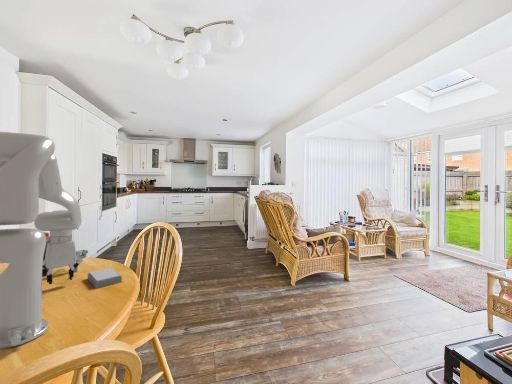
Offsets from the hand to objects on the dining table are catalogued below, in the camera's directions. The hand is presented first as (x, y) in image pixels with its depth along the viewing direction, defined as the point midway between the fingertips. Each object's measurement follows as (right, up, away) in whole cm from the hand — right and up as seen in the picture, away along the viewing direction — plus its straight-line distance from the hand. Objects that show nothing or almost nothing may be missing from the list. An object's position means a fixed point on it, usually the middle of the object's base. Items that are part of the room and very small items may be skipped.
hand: (60, 280), depth 101 cm
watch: (0, -1, 0) cm, 1 cm away
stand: (+13, -3, +8) cm, 16 cm away
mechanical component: (-7, -2, +17) cm, 19 cm away
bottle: (-19, -2, +13) cm, 23 cm away
